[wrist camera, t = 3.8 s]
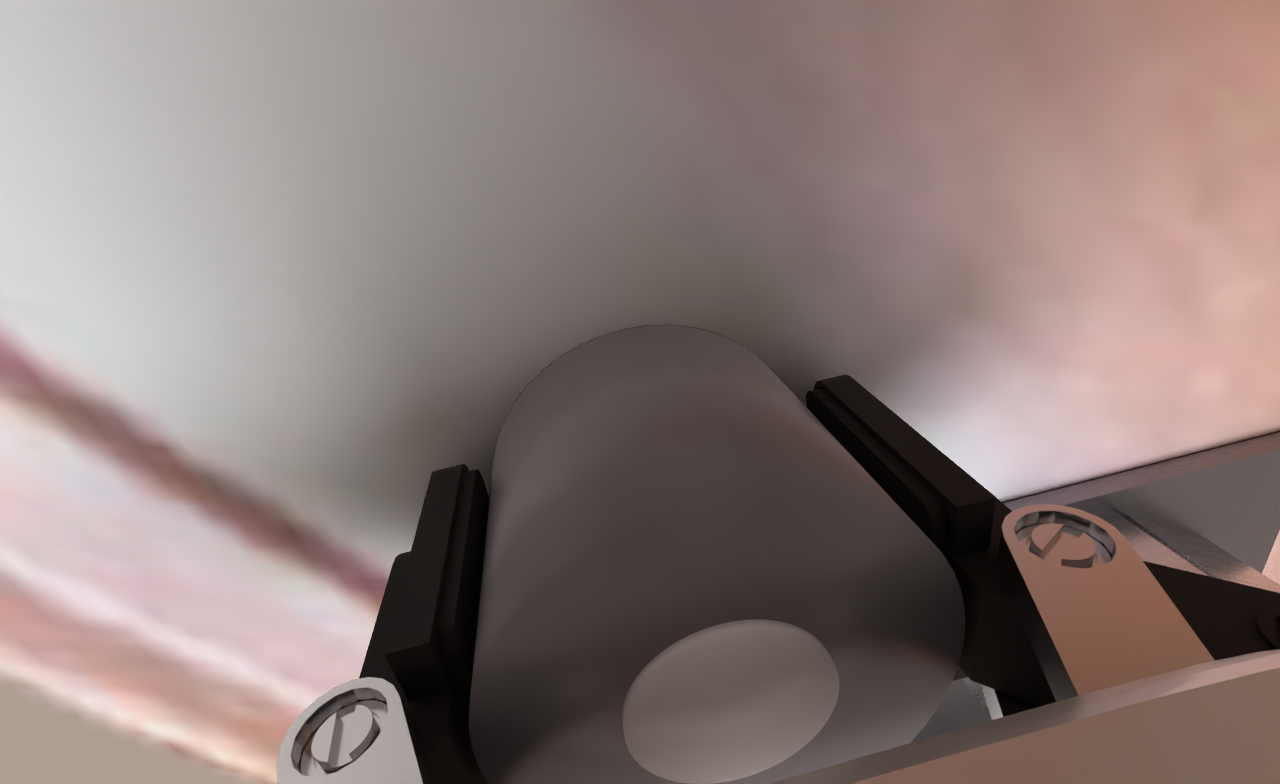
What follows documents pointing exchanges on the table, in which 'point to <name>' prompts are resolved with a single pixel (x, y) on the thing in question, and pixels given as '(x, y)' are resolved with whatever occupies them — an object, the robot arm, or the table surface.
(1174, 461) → the grey plate
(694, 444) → the cap
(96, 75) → the table surface
